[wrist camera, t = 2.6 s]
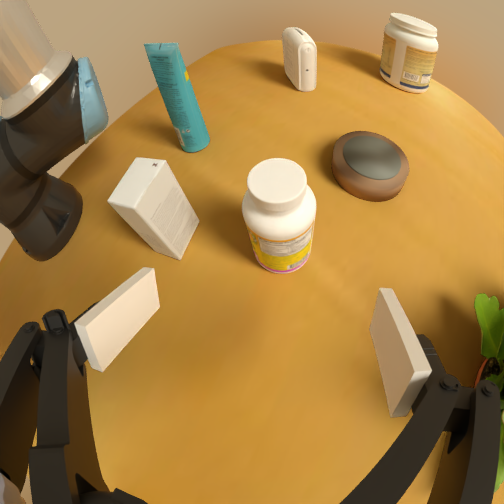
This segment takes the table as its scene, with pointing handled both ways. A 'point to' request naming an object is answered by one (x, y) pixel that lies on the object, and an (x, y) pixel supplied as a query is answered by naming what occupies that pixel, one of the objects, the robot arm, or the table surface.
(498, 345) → the potted flower
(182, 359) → the table surface
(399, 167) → the walnut plinth
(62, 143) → the robot arm
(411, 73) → the supplement tub
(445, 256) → the table surface
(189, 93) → the tube
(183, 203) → the skincare box
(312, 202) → the supplement bottle
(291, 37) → the photo printer
